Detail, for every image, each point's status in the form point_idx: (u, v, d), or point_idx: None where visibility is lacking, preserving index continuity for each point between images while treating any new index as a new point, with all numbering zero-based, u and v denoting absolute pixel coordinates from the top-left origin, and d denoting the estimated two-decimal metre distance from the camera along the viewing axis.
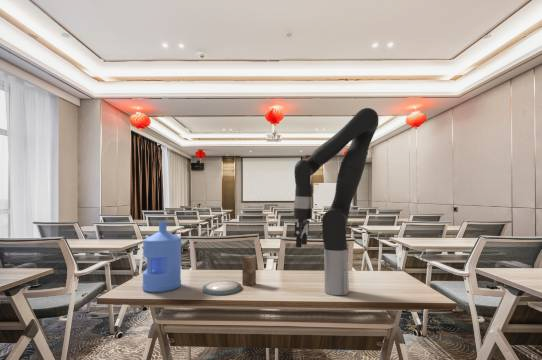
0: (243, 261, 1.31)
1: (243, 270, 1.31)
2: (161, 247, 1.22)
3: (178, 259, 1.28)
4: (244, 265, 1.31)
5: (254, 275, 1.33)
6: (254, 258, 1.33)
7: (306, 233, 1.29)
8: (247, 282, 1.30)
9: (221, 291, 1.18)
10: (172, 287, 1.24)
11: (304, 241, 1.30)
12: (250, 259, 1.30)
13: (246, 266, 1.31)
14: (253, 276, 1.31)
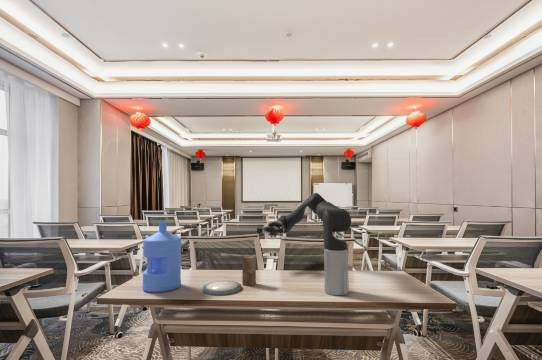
0: (243, 261, 1.31)
1: (243, 270, 1.31)
2: (161, 247, 1.22)
3: (178, 259, 1.28)
4: (244, 265, 1.31)
5: (254, 275, 1.33)
6: (254, 258, 1.33)
7: (275, 228, 1.58)
8: (247, 282, 1.30)
9: (221, 291, 1.18)
10: (172, 287, 1.24)
11: None
12: (250, 259, 1.30)
13: (246, 266, 1.31)
14: (253, 276, 1.31)
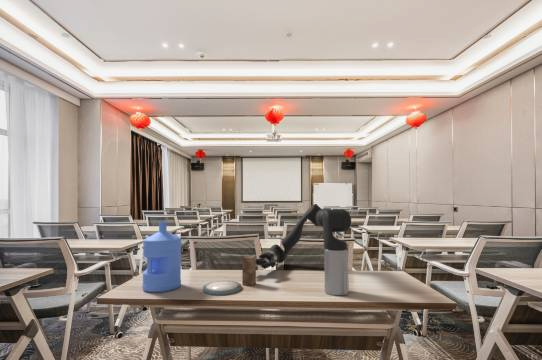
0: (243, 261, 1.31)
1: (243, 270, 1.31)
2: (161, 247, 1.22)
3: (178, 259, 1.28)
4: (244, 265, 1.31)
5: (254, 275, 1.33)
6: (254, 258, 1.33)
7: (266, 262, 1.43)
8: (247, 282, 1.30)
9: (221, 291, 1.18)
10: (172, 287, 1.24)
11: None
12: (250, 259, 1.30)
13: (246, 266, 1.31)
14: (253, 276, 1.31)
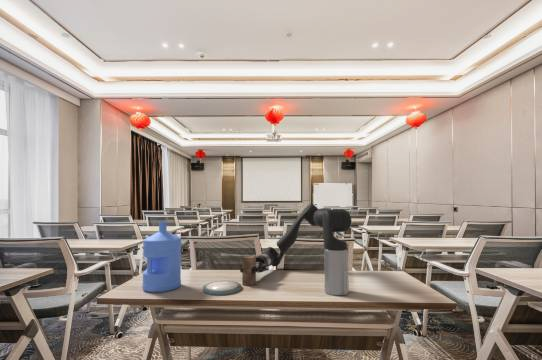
0: (243, 261, 1.31)
1: (243, 270, 1.31)
2: (161, 247, 1.22)
3: (178, 259, 1.28)
4: (244, 265, 1.31)
5: (254, 275, 1.33)
6: (254, 258, 1.33)
7: None
8: (247, 282, 1.30)
9: (221, 291, 1.18)
10: (172, 287, 1.24)
11: None
12: (250, 259, 1.30)
13: (246, 266, 1.31)
14: (253, 276, 1.31)
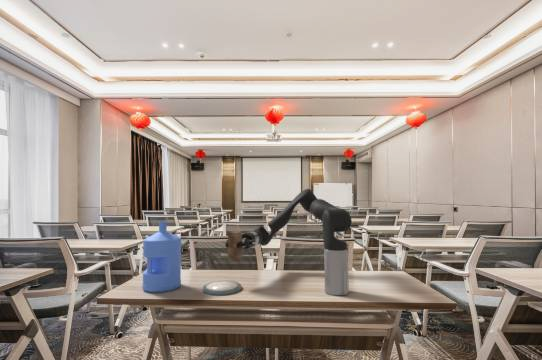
0: (228, 236, 1.29)
1: (229, 245, 1.29)
2: (161, 247, 1.22)
3: (178, 259, 1.28)
4: (229, 240, 1.29)
5: (240, 250, 1.30)
6: (240, 233, 1.31)
7: None
8: (232, 257, 1.28)
9: (221, 291, 1.18)
10: (172, 287, 1.24)
11: None
12: (235, 234, 1.28)
13: (231, 241, 1.29)
14: (239, 251, 1.29)
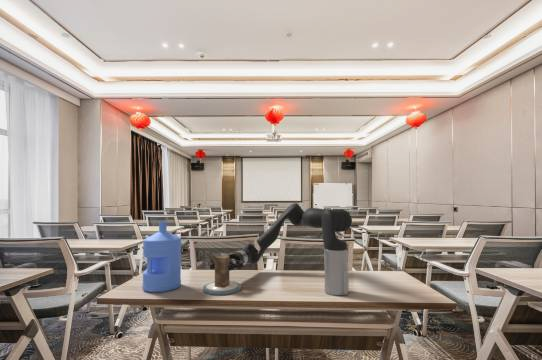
0: (215, 261, 1.25)
1: (216, 271, 1.24)
2: (161, 247, 1.22)
3: (178, 259, 1.28)
4: (217, 266, 1.24)
5: (227, 276, 1.26)
6: (227, 258, 1.26)
7: (233, 263, 1.28)
8: (219, 283, 1.24)
9: (221, 291, 1.18)
10: (172, 287, 1.24)
11: None
12: (223, 259, 1.24)
13: (219, 267, 1.24)
14: (226, 276, 1.25)
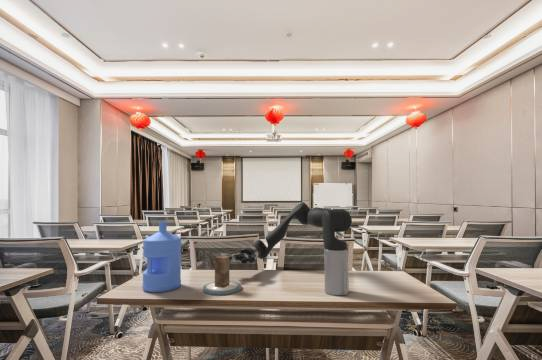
0: (215, 261, 1.25)
1: (216, 271, 1.24)
2: (161, 247, 1.22)
3: (178, 259, 1.28)
4: (217, 266, 1.24)
5: (227, 276, 1.26)
6: (227, 258, 1.26)
7: (245, 257, 1.40)
8: (219, 283, 1.24)
9: (221, 291, 1.18)
10: (172, 287, 1.24)
11: None
12: (223, 259, 1.24)
13: (219, 267, 1.24)
14: (226, 276, 1.25)
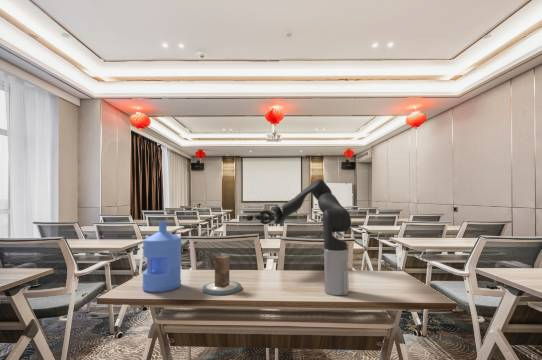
0: (215, 261, 1.25)
1: (216, 271, 1.24)
2: (161, 247, 1.22)
3: (178, 259, 1.28)
4: (217, 266, 1.24)
5: (227, 276, 1.26)
6: (227, 258, 1.26)
7: (266, 216, 1.50)
8: (219, 283, 1.24)
9: (221, 291, 1.18)
10: (172, 287, 1.24)
11: None
12: (223, 259, 1.24)
13: (219, 267, 1.24)
14: (226, 276, 1.25)
